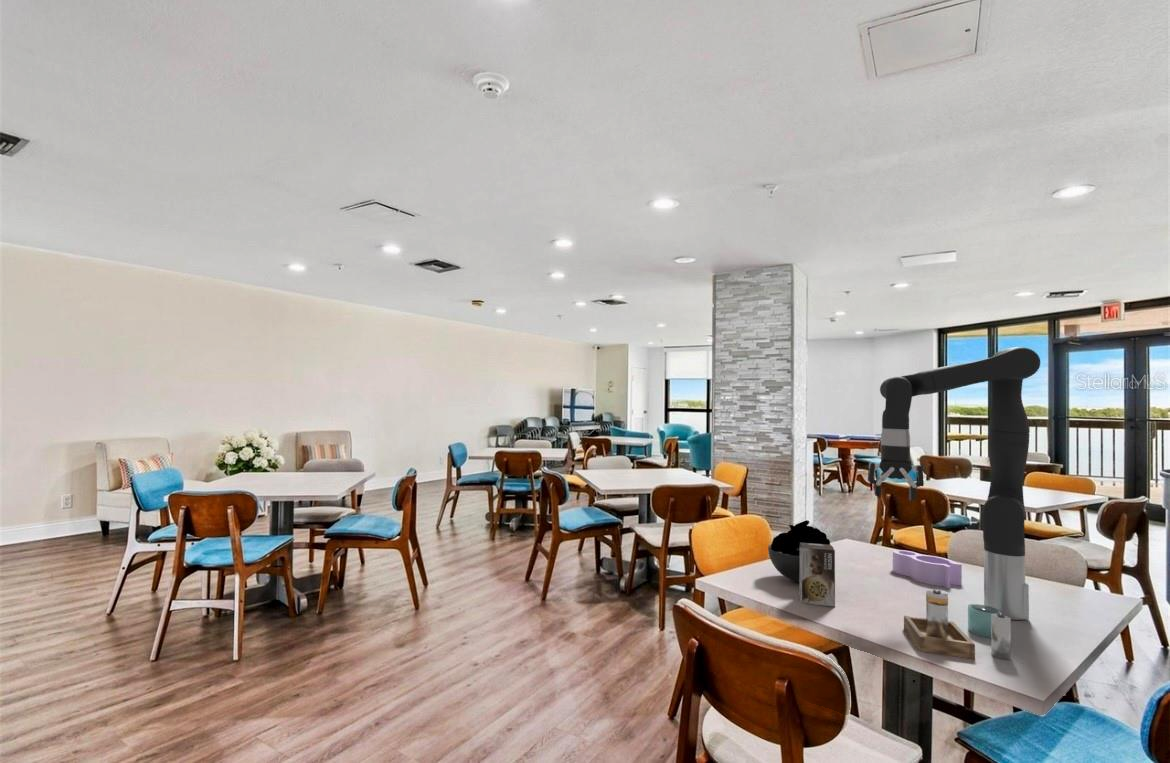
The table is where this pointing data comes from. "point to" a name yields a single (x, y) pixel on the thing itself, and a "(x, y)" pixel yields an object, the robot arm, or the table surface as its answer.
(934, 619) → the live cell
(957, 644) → the brown wooden tray
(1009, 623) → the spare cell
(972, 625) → the cup
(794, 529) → the coal bowl
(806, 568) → the coffee box
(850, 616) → the table surface
